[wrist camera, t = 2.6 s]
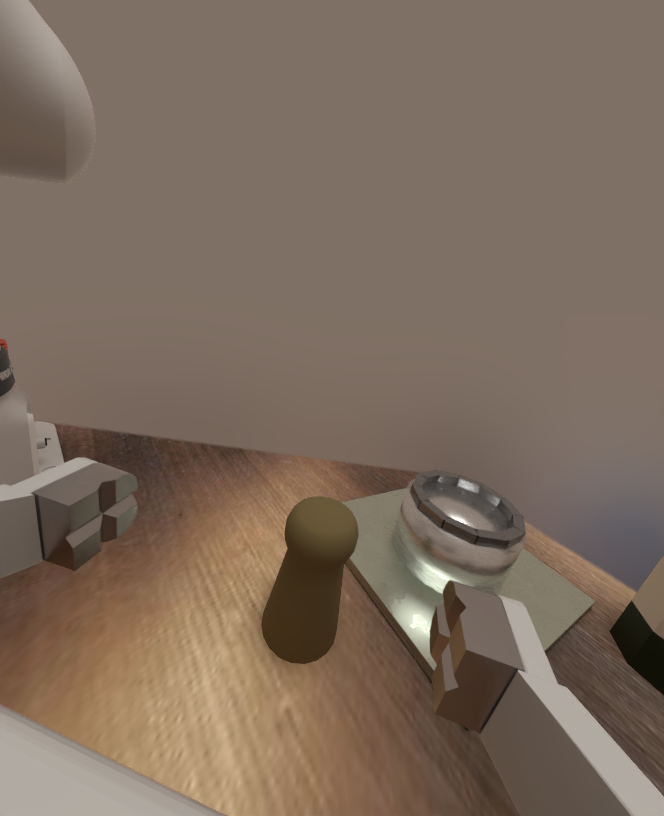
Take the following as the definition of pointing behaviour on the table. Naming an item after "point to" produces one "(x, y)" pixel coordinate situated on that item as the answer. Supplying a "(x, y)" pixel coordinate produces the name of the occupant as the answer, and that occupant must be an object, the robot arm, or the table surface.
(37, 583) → the table surface
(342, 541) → the cork
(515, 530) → the duct stub
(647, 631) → the wine bottle
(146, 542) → the table surface
